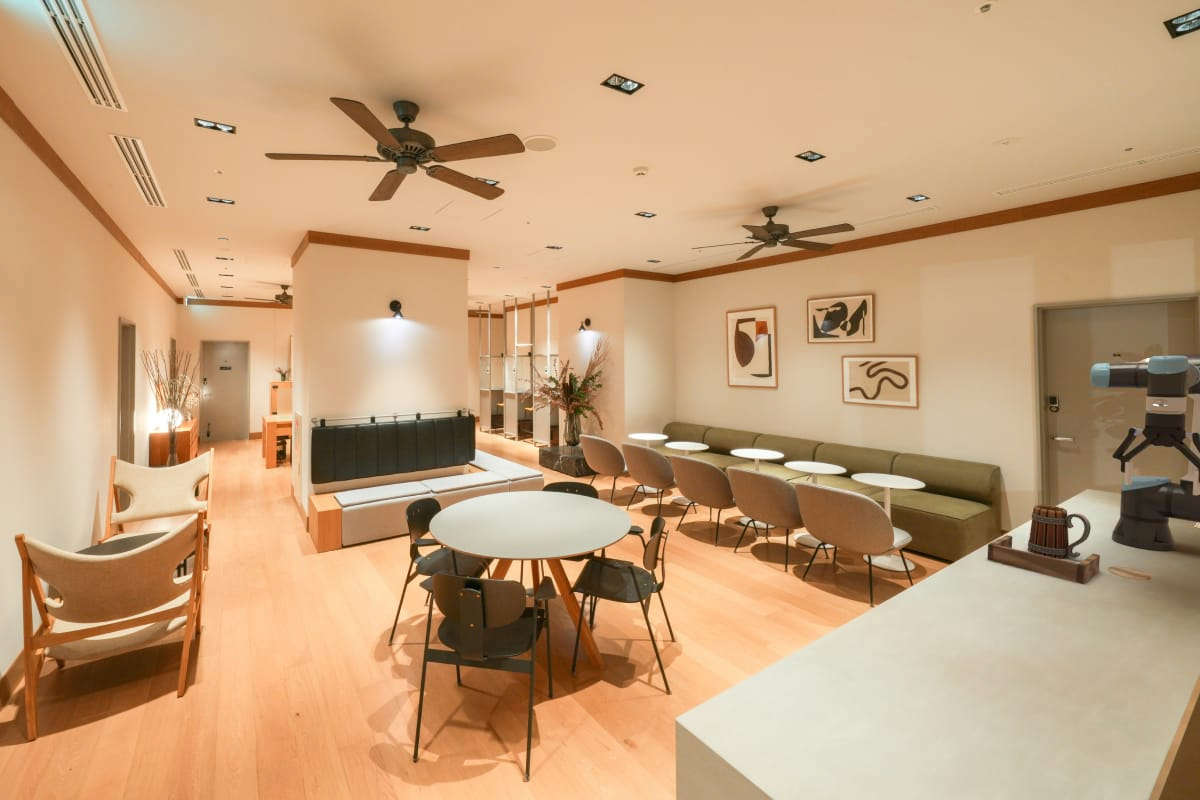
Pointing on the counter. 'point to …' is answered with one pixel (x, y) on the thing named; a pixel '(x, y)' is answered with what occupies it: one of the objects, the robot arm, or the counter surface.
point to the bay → (1042, 562)
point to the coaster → (1129, 573)
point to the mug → (1054, 532)
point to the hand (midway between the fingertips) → (1161, 489)
